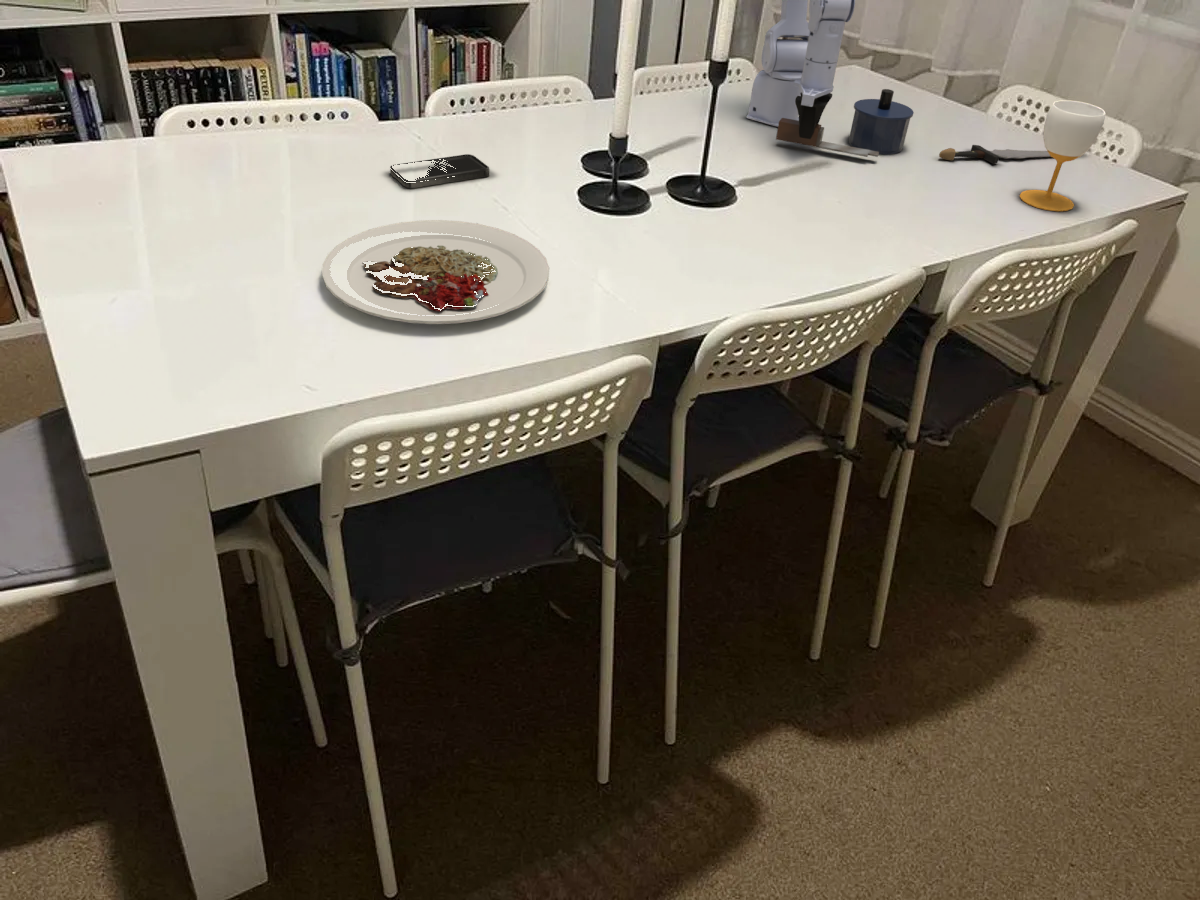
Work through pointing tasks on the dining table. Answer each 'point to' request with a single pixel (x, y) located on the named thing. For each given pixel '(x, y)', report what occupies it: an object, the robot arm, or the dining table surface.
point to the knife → (815, 139)
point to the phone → (448, 171)
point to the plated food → (443, 272)
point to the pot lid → (884, 107)
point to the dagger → (991, 154)
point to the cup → (1065, 146)
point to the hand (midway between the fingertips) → (806, 135)
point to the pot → (878, 134)
